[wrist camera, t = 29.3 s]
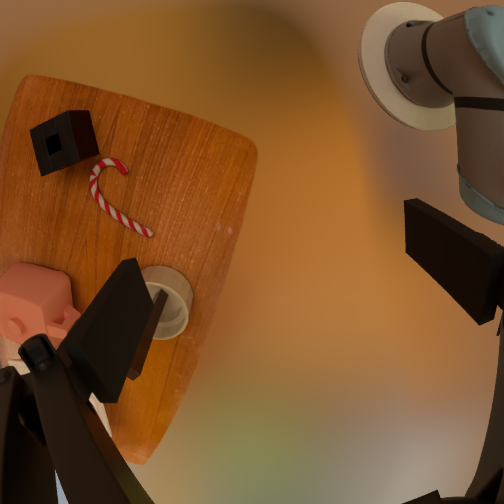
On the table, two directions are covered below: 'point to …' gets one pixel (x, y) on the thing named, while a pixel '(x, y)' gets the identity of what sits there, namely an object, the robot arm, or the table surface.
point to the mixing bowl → (170, 299)
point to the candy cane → (109, 208)
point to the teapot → (35, 303)
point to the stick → (147, 335)
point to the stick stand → (64, 141)
